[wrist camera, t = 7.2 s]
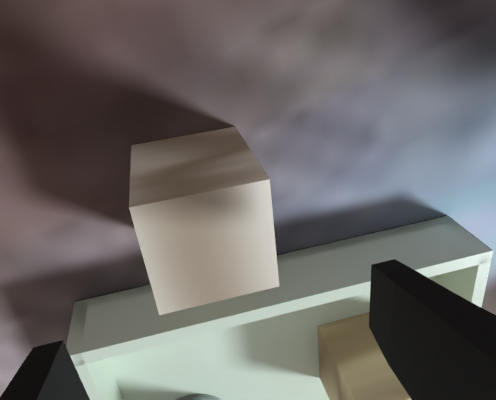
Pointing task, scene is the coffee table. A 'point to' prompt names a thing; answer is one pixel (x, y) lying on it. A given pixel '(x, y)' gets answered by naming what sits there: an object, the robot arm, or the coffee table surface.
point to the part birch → (202, 219)
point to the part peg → (199, 397)
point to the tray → (259, 320)
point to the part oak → (355, 363)
